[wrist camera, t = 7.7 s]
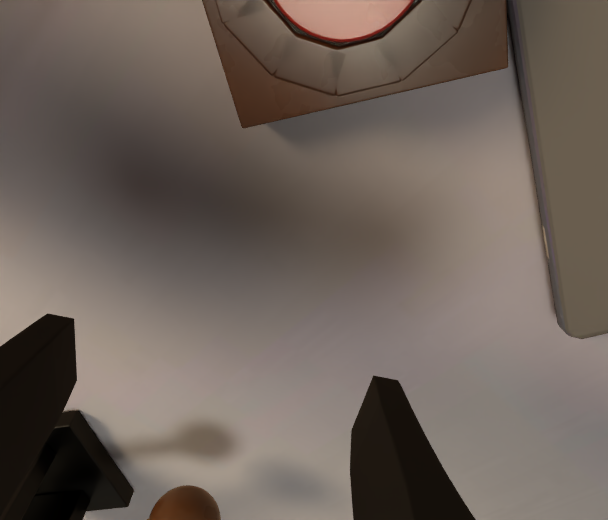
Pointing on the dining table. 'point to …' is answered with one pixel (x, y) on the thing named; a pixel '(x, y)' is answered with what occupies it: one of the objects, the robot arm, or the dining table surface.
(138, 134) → the dining table surface
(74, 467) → the bracket
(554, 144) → the smartphone
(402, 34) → the button base
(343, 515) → the dining table surface
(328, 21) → the button
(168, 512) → the lever
